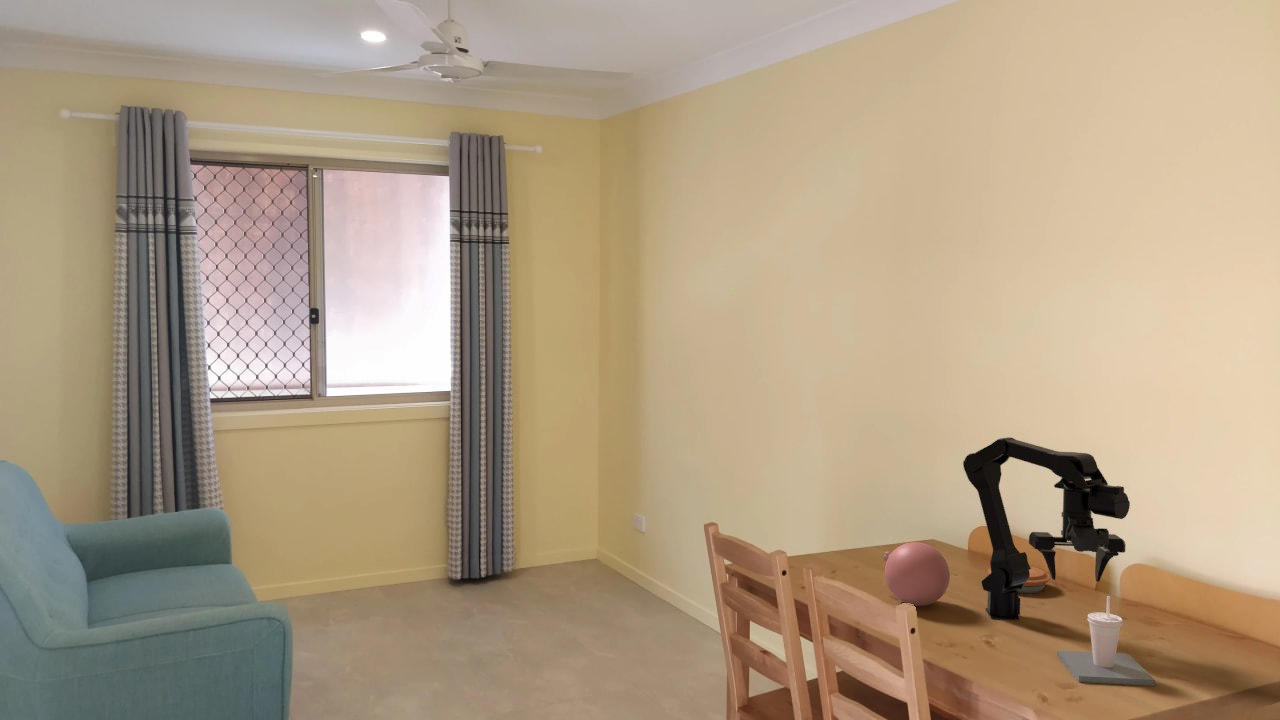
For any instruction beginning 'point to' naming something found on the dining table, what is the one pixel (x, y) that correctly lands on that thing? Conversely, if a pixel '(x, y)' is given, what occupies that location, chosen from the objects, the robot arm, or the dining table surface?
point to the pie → (1033, 580)
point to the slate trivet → (1105, 669)
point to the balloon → (916, 573)
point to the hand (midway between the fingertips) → (1075, 580)
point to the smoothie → (1104, 636)
